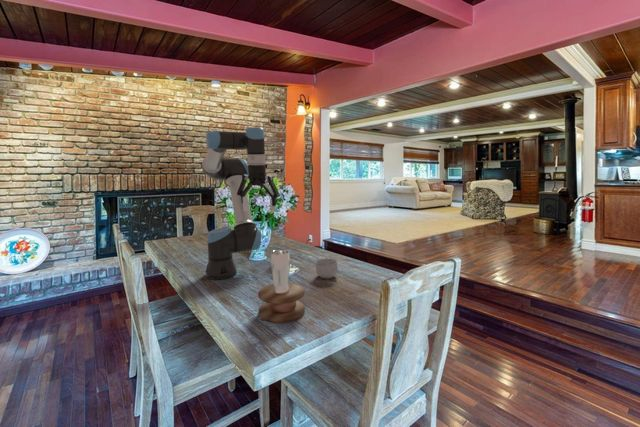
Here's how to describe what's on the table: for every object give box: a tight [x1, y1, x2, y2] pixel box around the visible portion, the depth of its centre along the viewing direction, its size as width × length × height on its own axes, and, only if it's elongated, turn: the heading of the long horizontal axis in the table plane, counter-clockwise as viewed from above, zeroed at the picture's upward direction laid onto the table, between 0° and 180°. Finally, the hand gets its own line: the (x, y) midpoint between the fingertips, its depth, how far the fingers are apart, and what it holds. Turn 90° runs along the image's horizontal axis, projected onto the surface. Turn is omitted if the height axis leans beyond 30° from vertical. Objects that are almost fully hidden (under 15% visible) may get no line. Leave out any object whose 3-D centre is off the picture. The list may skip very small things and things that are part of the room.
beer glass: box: [270, 249, 291, 295], centre depth 117 cm, size 7×7×15 cm
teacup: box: [315, 257, 338, 280], centre depth 157 cm, size 14×11×8 cm
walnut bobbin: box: [257, 282, 306, 324], centre depth 118 cm, size 17×17×8 cm
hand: (258, 211), depth 143 cm, fingers open, 13 cm apart
